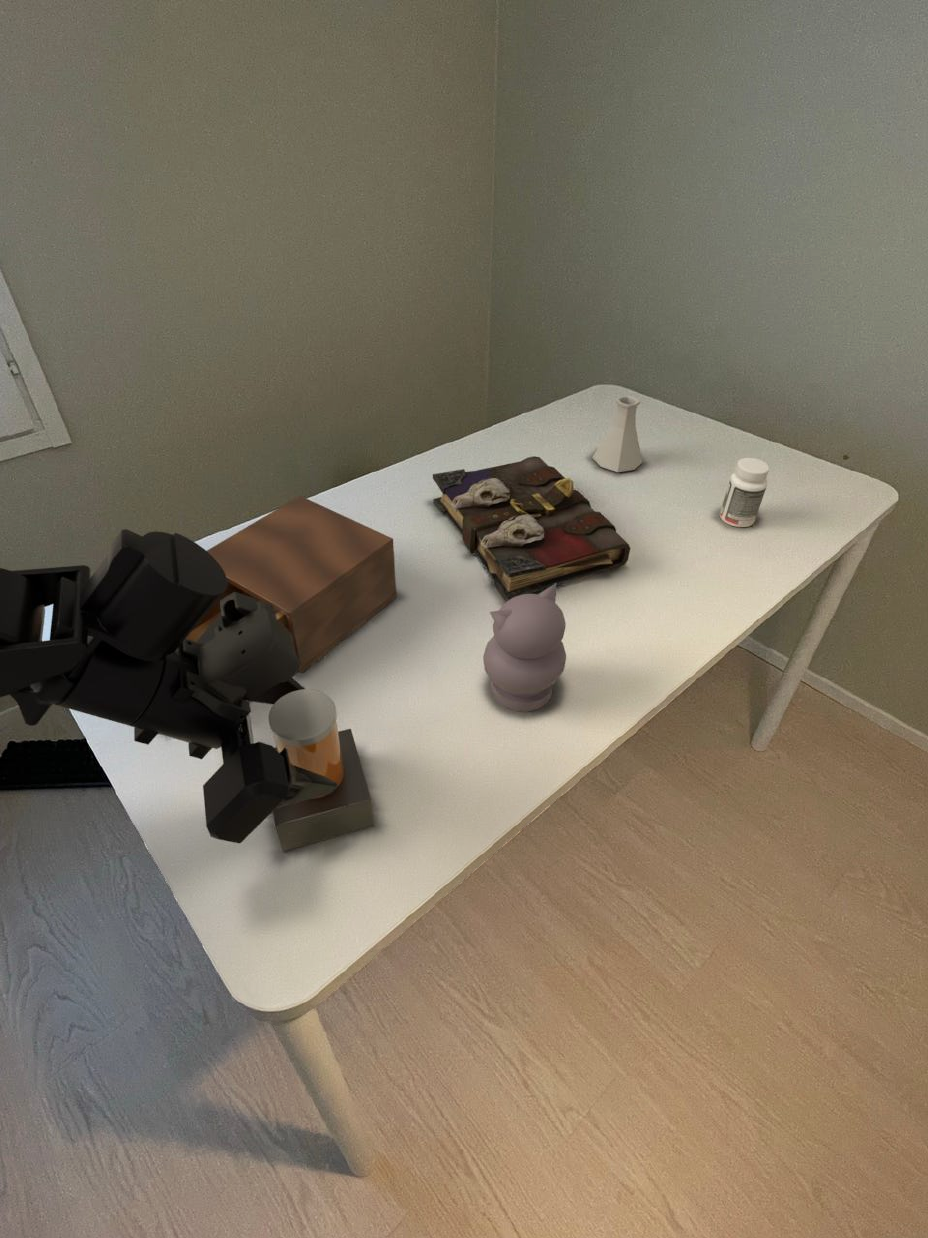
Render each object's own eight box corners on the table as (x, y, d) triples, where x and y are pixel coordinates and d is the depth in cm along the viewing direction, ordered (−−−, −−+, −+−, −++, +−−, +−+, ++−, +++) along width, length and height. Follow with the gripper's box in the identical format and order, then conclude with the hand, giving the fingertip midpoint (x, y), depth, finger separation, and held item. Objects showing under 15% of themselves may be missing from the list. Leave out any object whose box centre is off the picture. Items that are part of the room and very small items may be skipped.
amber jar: (293, 809, 58) (278, 749, 53) (277, 762, 61) (260, 701, 56) (353, 786, 60) (344, 726, 54) (334, 742, 63) (324, 681, 58)
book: (631, 573, 88) (642, 524, 83) (502, 607, 83) (505, 558, 78) (536, 471, 106) (541, 426, 102) (425, 494, 101) (424, 448, 96)
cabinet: (302, 673, 75) (290, 612, 69) (211, 617, 81) (193, 558, 75) (396, 597, 84) (393, 538, 78) (309, 552, 90) (300, 495, 85)
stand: (282, 852, 59) (274, 826, 57) (269, 777, 65) (261, 750, 62) (374, 825, 61) (371, 799, 59) (354, 754, 67) (350, 728, 64)
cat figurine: (510, 731, 69) (519, 644, 61) (466, 682, 74) (469, 595, 66) (577, 696, 73) (593, 609, 65) (530, 651, 78) (540, 565, 70)
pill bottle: (761, 524, 97) (780, 471, 91) (732, 530, 96) (750, 476, 90) (740, 506, 100) (757, 453, 95) (712, 512, 99) (728, 459, 93)
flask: (616, 445, 113) (627, 385, 106) (650, 464, 109) (664, 402, 102) (583, 458, 110) (593, 397, 103) (617, 478, 105) (629, 415, 99)
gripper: (222, 709, 39) (419, 773, 49) (200, 525, 52) (359, 606, 62) (116, 826, 42) (321, 864, 53) (120, 626, 55) (283, 687, 66)
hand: (323, 743), depth 58 cm, fingers open, 9 cm apart
